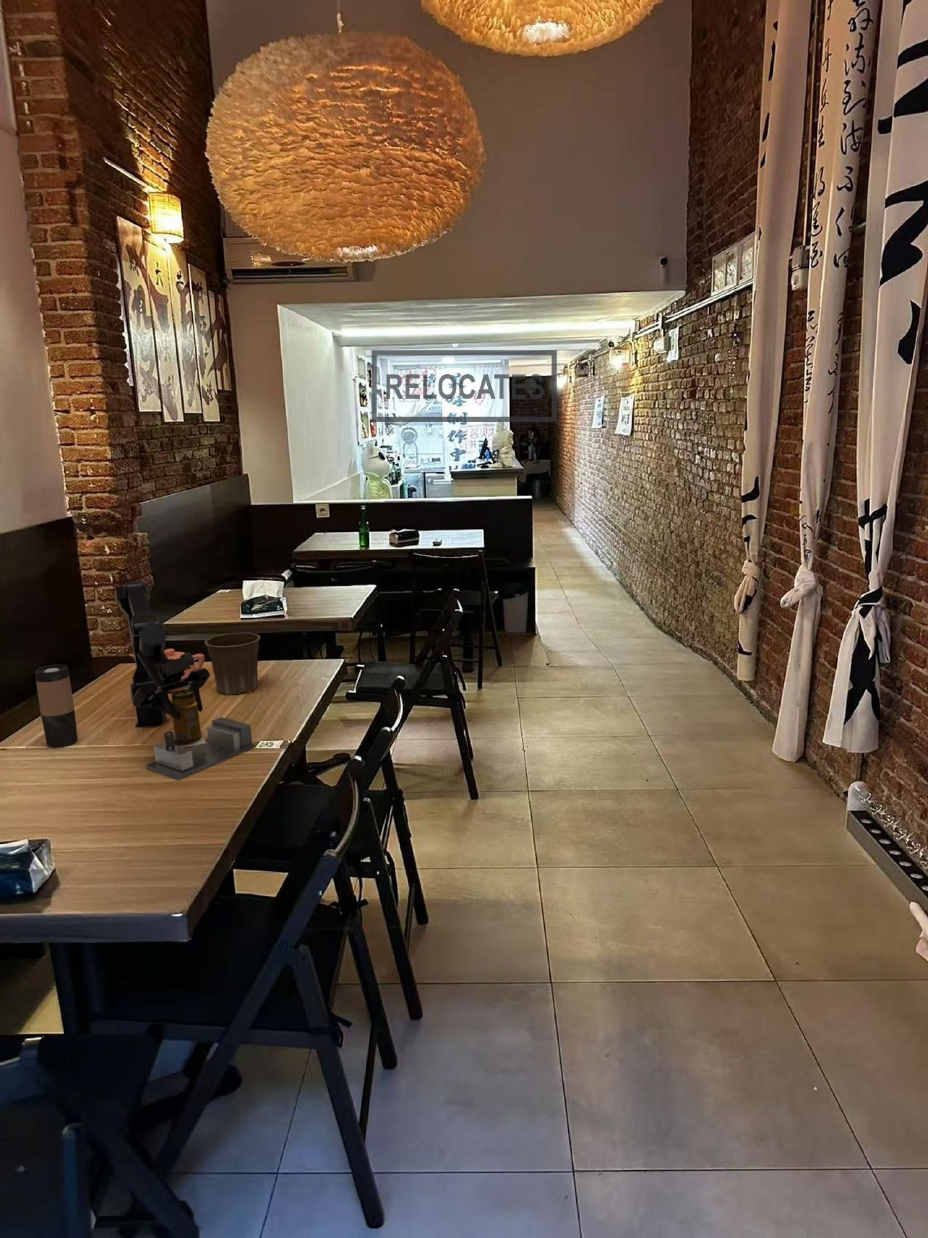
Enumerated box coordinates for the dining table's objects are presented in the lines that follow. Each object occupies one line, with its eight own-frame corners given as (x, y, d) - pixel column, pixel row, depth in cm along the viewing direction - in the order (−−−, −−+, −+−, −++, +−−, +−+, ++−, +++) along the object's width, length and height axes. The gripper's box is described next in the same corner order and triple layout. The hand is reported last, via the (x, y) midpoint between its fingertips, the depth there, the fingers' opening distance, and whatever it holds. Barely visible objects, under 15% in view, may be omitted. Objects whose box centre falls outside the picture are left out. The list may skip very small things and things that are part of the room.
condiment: (201, 731, 194) (195, 686, 191) (206, 743, 186) (200, 696, 183) (170, 737, 191) (164, 691, 188) (174, 749, 183) (167, 701, 180)
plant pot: (256, 697, 232) (251, 645, 229) (202, 698, 233) (197, 646, 229) (270, 680, 248) (266, 631, 244) (220, 682, 248) (215, 633, 245)
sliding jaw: (182, 771, 177) (178, 738, 176) (155, 762, 183) (151, 730, 181) (193, 766, 180) (189, 734, 178) (166, 758, 185) (162, 726, 184)
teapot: (129, 698, 235) (124, 659, 232) (137, 683, 249) (133, 646, 246) (205, 691, 239) (201, 653, 236) (209, 677, 254) (205, 641, 251)
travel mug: (85, 739, 202) (74, 665, 197) (59, 750, 195) (48, 674, 191) (65, 735, 205) (54, 663, 201) (39, 746, 198) (27, 671, 194)
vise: (178, 780, 176) (175, 755, 174) (146, 769, 182) (143, 745, 181) (253, 747, 193) (251, 725, 192) (222, 738, 200) (220, 716, 199)
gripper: (134, 654, 178) (168, 708, 175) (201, 636, 193) (235, 685, 190) (118, 681, 184) (151, 734, 181) (185, 662, 199) (217, 710, 196)
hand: (190, 714), depth 187 cm, fingers closed on condiment, 6 cm apart
